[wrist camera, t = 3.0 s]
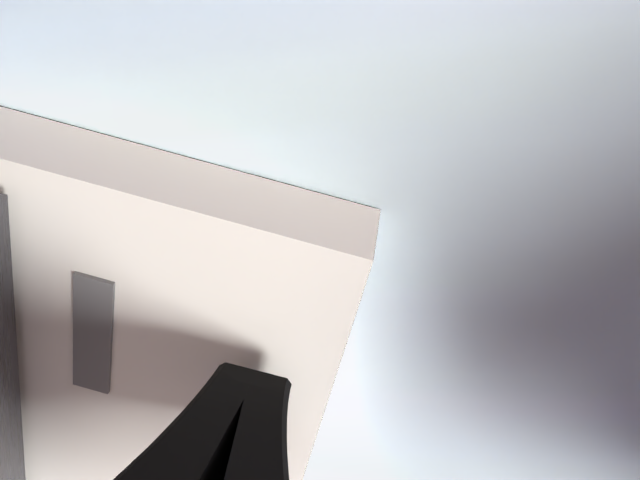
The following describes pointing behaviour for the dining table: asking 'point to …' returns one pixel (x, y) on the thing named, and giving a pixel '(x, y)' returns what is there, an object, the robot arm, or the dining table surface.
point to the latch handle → (9, 363)
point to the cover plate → (164, 291)
